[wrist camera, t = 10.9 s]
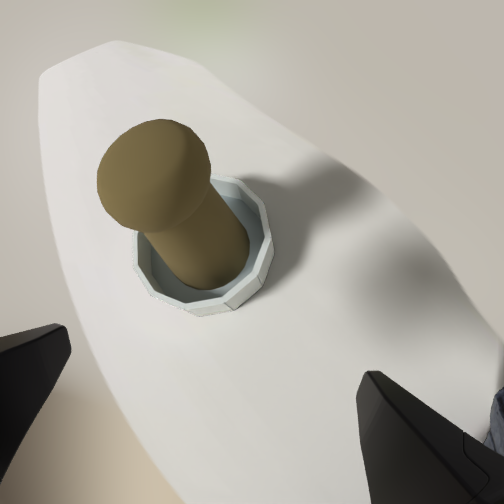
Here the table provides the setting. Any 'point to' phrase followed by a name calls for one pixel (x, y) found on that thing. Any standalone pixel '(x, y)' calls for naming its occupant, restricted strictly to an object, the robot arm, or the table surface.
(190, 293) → the bowl
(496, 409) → the stone
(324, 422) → the table surface
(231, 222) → the cork
